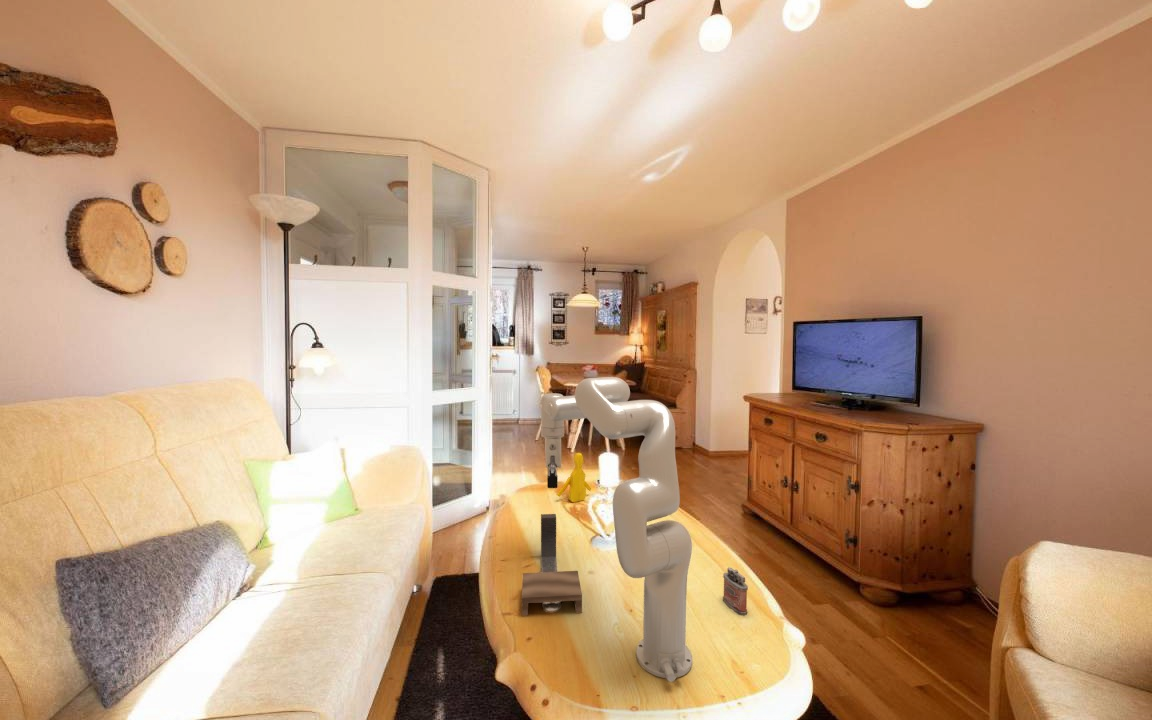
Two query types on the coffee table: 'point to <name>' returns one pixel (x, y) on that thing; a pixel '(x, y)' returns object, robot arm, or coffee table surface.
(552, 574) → the low table
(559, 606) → the steel token
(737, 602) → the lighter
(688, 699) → the coffee table surface
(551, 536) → the pusher tool
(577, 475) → the figure statuette
